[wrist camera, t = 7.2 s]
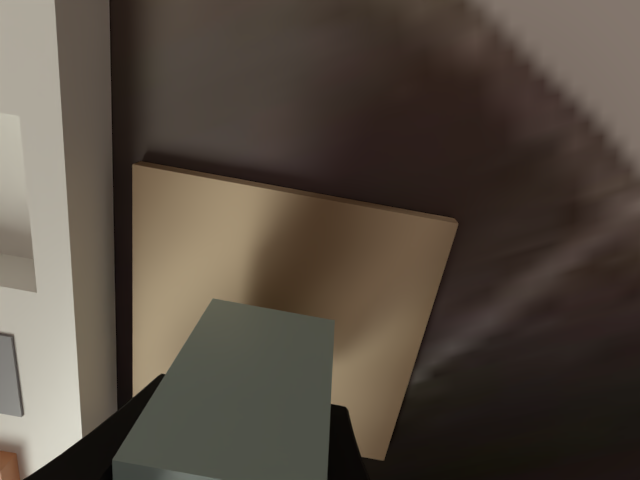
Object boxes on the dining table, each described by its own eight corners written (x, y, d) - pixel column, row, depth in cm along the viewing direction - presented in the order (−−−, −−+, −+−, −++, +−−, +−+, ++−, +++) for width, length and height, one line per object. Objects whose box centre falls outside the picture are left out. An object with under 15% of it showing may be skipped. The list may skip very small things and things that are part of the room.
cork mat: (453, 218, 14) (458, 223, 13) (382, 449, 18) (383, 460, 17) (140, 161, 14) (132, 164, 13) (139, 405, 18) (132, 415, 17)
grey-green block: (334, 320, 13) (325, 498, 7) (314, 414, 14) (294, 621, 9) (212, 298, 13) (111, 460, 7) (204, 394, 14) (115, 590, 9)
